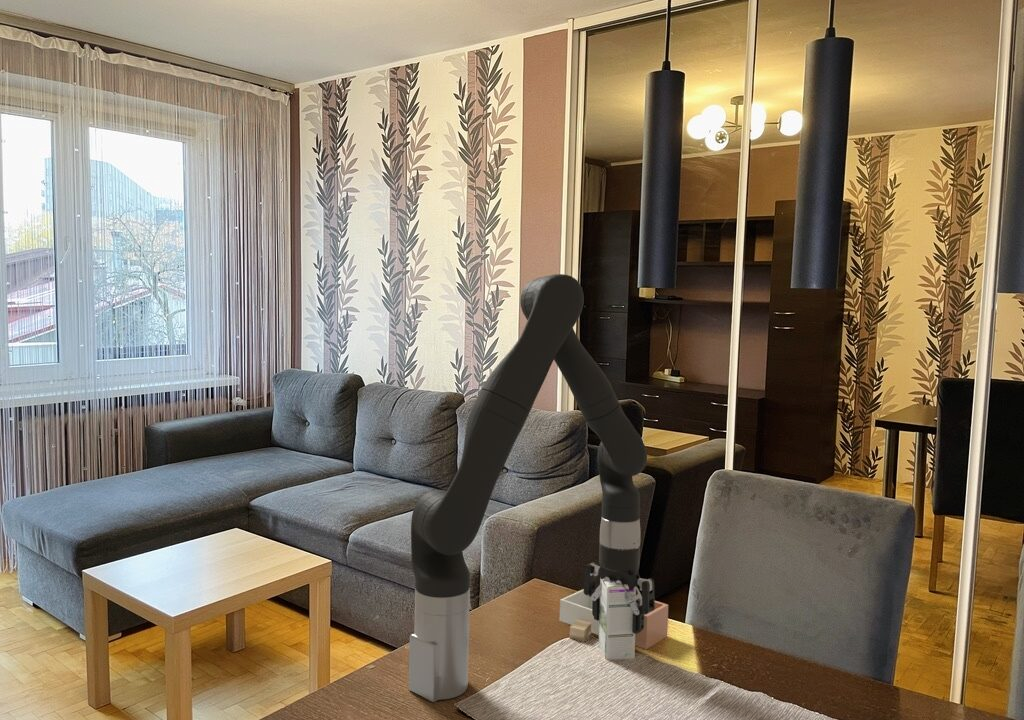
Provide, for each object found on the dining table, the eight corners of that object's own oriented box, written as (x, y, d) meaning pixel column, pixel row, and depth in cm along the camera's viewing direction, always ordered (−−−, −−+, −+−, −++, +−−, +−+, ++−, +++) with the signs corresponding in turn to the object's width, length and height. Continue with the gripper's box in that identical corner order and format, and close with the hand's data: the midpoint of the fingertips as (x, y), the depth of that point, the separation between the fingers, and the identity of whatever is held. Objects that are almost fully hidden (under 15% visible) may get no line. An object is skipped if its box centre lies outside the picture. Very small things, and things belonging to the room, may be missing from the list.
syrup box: (635, 661, 137) (638, 585, 136) (604, 663, 136) (607, 585, 135) (626, 648, 143) (629, 574, 142) (596, 649, 142) (599, 574, 141)
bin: (599, 638, 147) (600, 613, 146) (559, 623, 153) (560, 599, 153) (626, 623, 154) (627, 599, 154) (587, 609, 161) (588, 587, 161)
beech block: (583, 645, 144) (584, 630, 144) (569, 641, 145) (569, 627, 145) (590, 637, 147) (591, 622, 147) (576, 634, 149) (577, 619, 148)
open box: (645, 652, 141) (647, 616, 141) (610, 639, 146) (611, 604, 146) (667, 639, 147) (668, 604, 147) (632, 627, 152) (633, 594, 152)
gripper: (577, 537, 140) (575, 621, 141) (642, 554, 131) (639, 644, 132) (599, 529, 146) (597, 609, 147) (663, 545, 136) (661, 630, 137)
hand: (617, 625), depth 139 cm, fingers open, 8 cm apart
